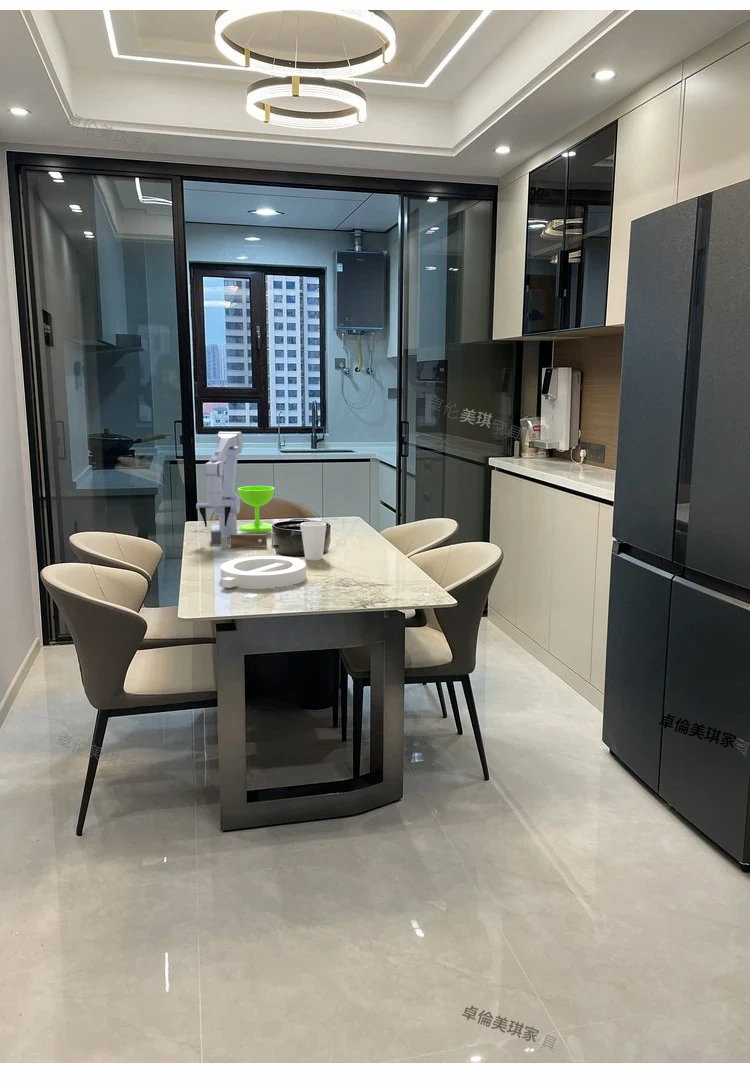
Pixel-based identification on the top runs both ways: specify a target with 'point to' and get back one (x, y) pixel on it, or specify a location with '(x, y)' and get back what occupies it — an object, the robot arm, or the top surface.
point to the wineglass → (256, 505)
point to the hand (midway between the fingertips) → (215, 526)
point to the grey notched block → (215, 537)
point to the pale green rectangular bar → (224, 541)
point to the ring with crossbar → (262, 572)
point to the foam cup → (313, 539)
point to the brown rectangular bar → (248, 540)
